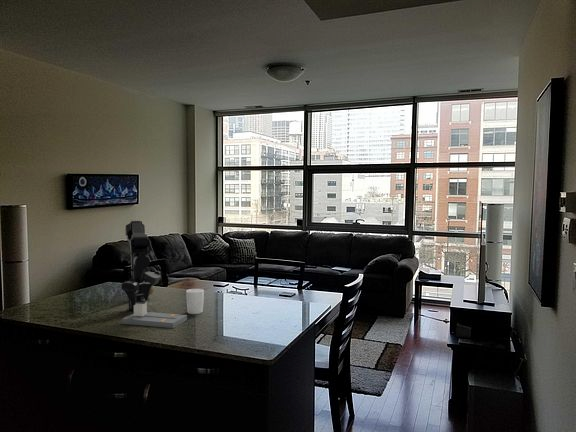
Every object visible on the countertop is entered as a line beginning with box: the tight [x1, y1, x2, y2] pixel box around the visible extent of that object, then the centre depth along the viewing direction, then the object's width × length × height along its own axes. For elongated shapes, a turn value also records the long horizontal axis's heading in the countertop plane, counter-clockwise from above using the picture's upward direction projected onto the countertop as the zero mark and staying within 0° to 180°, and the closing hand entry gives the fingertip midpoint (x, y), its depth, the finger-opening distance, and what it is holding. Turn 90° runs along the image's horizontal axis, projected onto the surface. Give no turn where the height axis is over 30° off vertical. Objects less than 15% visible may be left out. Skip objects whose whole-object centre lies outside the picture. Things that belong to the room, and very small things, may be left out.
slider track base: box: [121, 311, 188, 329], centre depth 182 cm, size 23×12×2 cm, turn 76°
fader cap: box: [133, 301, 148, 316], centre depth 183 cm, size 4×4×5 cm
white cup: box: [185, 288, 205, 315], centre depth 197 cm, size 8×8×10 cm
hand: (140, 302), depth 183 cm, fingers open, 9 cm apart
